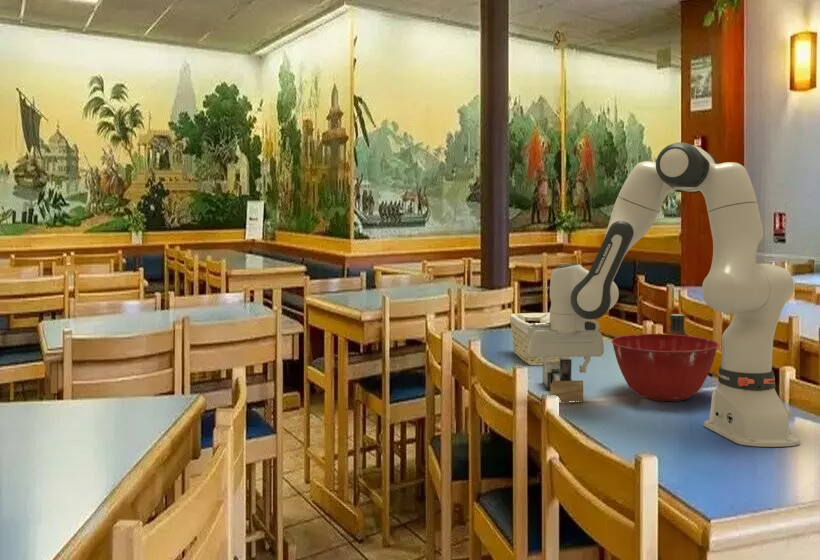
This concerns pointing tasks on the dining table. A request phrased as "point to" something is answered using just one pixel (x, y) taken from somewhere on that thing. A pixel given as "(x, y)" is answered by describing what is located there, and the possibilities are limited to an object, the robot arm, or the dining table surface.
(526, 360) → the storage basket
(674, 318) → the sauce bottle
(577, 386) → the brown wooden block
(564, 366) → the dark grey upright block
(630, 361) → the mixing bowl
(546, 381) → the sleeve
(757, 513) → the dining table surface
